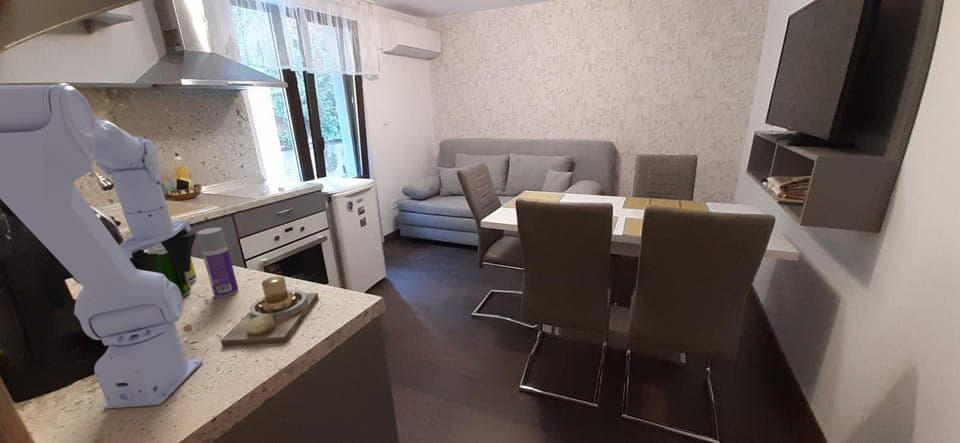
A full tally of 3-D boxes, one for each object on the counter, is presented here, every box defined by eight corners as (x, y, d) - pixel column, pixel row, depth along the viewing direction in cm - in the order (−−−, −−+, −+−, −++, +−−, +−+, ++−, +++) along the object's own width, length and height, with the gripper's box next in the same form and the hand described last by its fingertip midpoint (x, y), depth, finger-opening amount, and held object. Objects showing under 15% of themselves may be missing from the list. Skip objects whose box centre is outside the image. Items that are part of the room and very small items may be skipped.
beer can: (160, 304, 81) (143, 253, 77) (162, 294, 85) (146, 245, 81) (191, 296, 84) (176, 246, 80) (191, 287, 88) (177, 240, 84)
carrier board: (285, 342, 66) (282, 329, 65) (222, 346, 65) (218, 333, 64) (318, 297, 81) (316, 286, 80) (267, 300, 80) (264, 289, 79)
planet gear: (289, 315, 72) (283, 287, 70) (253, 317, 72) (246, 290, 70) (302, 297, 78) (297, 272, 77) (269, 300, 78) (263, 274, 76)
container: (243, 287, 87) (227, 227, 82) (228, 297, 82) (211, 234, 78) (224, 287, 87) (208, 227, 82) (209, 297, 83) (190, 234, 78)
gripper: (154, 199, 70) (175, 265, 74) (80, 223, 56) (110, 302, 60) (193, 197, 70) (211, 263, 74) (128, 221, 56) (155, 299, 61)
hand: (169, 280), depth 67 cm, fingers open, 7 cm apart
